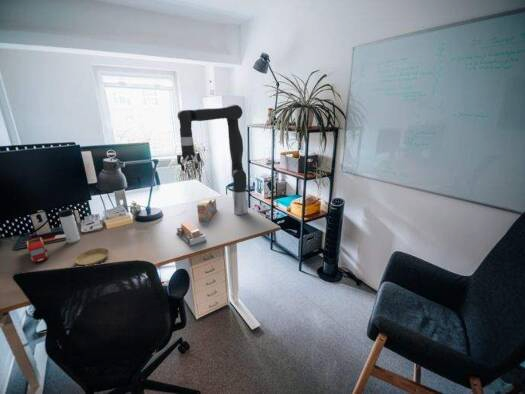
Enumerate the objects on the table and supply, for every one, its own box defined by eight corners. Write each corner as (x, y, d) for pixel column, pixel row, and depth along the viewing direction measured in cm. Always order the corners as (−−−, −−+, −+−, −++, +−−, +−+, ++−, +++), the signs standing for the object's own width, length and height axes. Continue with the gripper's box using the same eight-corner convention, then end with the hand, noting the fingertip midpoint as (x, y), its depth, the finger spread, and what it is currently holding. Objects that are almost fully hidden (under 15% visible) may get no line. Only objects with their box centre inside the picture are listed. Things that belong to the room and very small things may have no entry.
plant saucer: (94, 270, 118) (93, 265, 118) (68, 267, 121) (67, 262, 120) (116, 253, 132) (115, 249, 131) (92, 251, 135) (91, 246, 134)
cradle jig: (191, 228, 158) (191, 223, 157) (206, 241, 143) (206, 235, 142) (176, 233, 152) (175, 227, 151) (190, 246, 137) (189, 240, 136)
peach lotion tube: (189, 230, 155) (188, 221, 153) (200, 239, 143) (199, 230, 141) (182, 232, 152) (180, 223, 150) (193, 242, 140) (192, 232, 138)
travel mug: (70, 245, 140) (60, 212, 134) (65, 242, 144) (55, 210, 137) (82, 240, 145) (73, 209, 139) (77, 237, 149) (68, 206, 142)
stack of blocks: (208, 209, 189) (207, 194, 185) (216, 209, 189) (215, 194, 184) (198, 221, 169) (196, 204, 165) (207, 221, 169) (205, 205, 164)
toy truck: (33, 266, 121) (26, 248, 118) (30, 250, 135) (23, 234, 132) (50, 260, 126) (44, 243, 123) (46, 246, 140) (40, 230, 136)
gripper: (195, 142, 159) (197, 167, 164) (173, 144, 151) (176, 170, 156) (200, 143, 154) (202, 169, 159) (178, 145, 145) (181, 172, 150)
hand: (190, 169), depth 157 cm, fingers open, 8 cm apart
